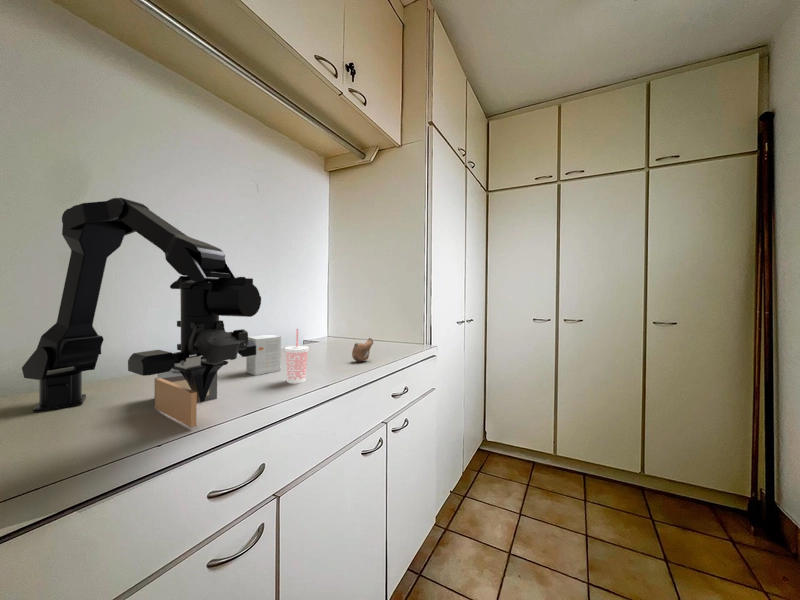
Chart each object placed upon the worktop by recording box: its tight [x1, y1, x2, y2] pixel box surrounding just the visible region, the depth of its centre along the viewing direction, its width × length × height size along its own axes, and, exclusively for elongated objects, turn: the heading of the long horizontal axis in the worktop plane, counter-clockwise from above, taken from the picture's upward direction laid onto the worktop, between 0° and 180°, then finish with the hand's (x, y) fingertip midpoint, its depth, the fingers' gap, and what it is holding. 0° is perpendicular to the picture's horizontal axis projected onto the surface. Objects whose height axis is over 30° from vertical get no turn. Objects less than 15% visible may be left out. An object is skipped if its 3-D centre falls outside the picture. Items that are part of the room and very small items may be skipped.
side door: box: [153, 377, 198, 428], centre depth 56 cm, size 1×15×6 cm, turn 58°
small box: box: [245, 334, 282, 376], centre depth 90 cm, size 8×6×10 cm
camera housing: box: [157, 369, 218, 403], centre depth 67 cm, size 8×10×7 cm
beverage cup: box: [284, 328, 309, 385], centre depth 81 cm, size 6×6×14 cm
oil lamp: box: [351, 337, 374, 363], centre depth 107 cm, size 9×4×8 cm, turn 135°
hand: (200, 402), depth 55 cm, fingers closed
